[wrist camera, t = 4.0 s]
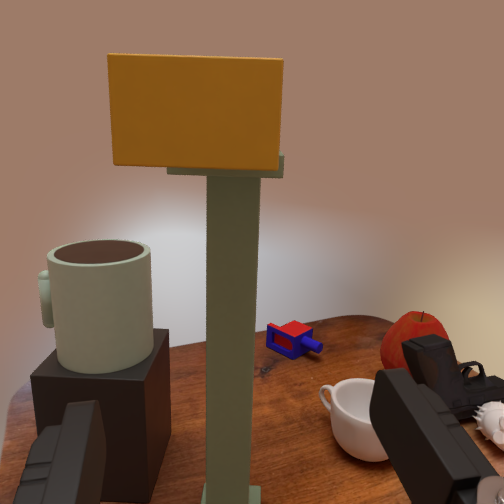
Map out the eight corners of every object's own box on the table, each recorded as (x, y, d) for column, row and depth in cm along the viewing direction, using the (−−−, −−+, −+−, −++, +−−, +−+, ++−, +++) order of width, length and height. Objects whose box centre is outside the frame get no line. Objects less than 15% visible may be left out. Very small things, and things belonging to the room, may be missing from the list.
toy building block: (284, 337, 66) (326, 357, 61) (265, 346, 64) (308, 368, 58) (285, 316, 65) (328, 334, 60) (267, 324, 62) (310, 344, 57)
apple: (364, 383, 54) (373, 306, 52) (401, 364, 59) (411, 292, 56) (422, 418, 48) (436, 332, 45) (459, 393, 53) (474, 314, 50)
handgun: (417, 346, 44) (416, 436, 45) (522, 330, 47) (518, 415, 49) (400, 337, 47) (399, 422, 48) (500, 323, 50) (497, 403, 52)
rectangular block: (112, 165, 10) (106, 52, 10) (208, 144, 28) (208, 103, 27) (278, 171, 10) (283, 58, 9) (269, 146, 27) (271, 105, 27)
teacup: (418, 447, 44) (426, 402, 42) (380, 488, 38) (387, 438, 37) (337, 402, 50) (341, 362, 49) (295, 432, 45) (298, 387, 44)
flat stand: (177, 651, 26) (165, 150, 18) (204, 491, 38) (204, 143, 29) (258, 655, 26) (284, 154, 18) (260, 494, 38) (276, 145, 29)
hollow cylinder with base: (34, 498, 37) (3, 264, 31) (78, 427, 45) (60, 235, 39) (149, 503, 36) (139, 269, 31) (171, 432, 45) (166, 239, 39)
